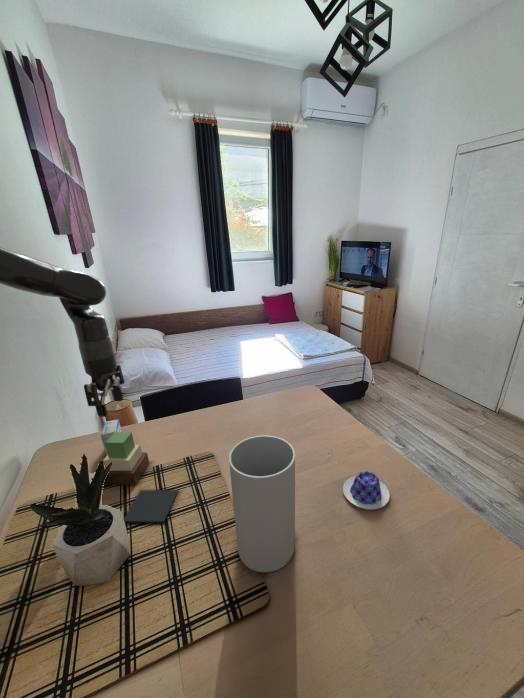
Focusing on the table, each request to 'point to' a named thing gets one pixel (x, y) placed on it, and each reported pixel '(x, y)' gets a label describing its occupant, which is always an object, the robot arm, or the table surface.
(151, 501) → the rubber mat
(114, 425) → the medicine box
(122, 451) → the green cube
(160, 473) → the table surface
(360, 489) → the pudding
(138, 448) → the cream block
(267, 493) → the cylinder vase
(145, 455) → the walnut block
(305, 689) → the table surface
